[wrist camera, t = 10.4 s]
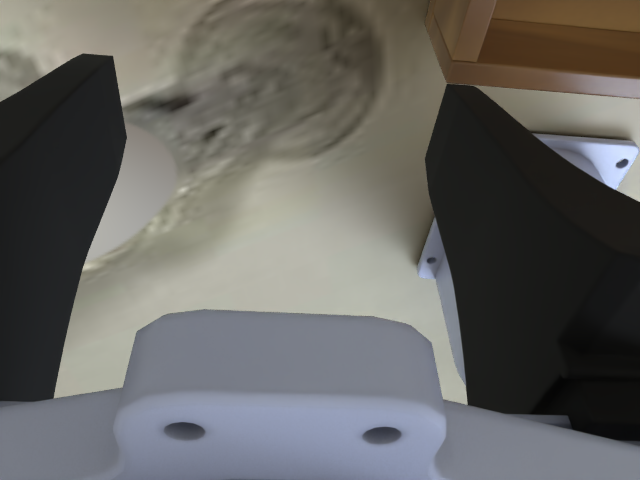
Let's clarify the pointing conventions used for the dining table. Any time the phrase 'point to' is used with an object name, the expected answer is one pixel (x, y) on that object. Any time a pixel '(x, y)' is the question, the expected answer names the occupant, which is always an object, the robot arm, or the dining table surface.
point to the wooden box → (539, 44)
